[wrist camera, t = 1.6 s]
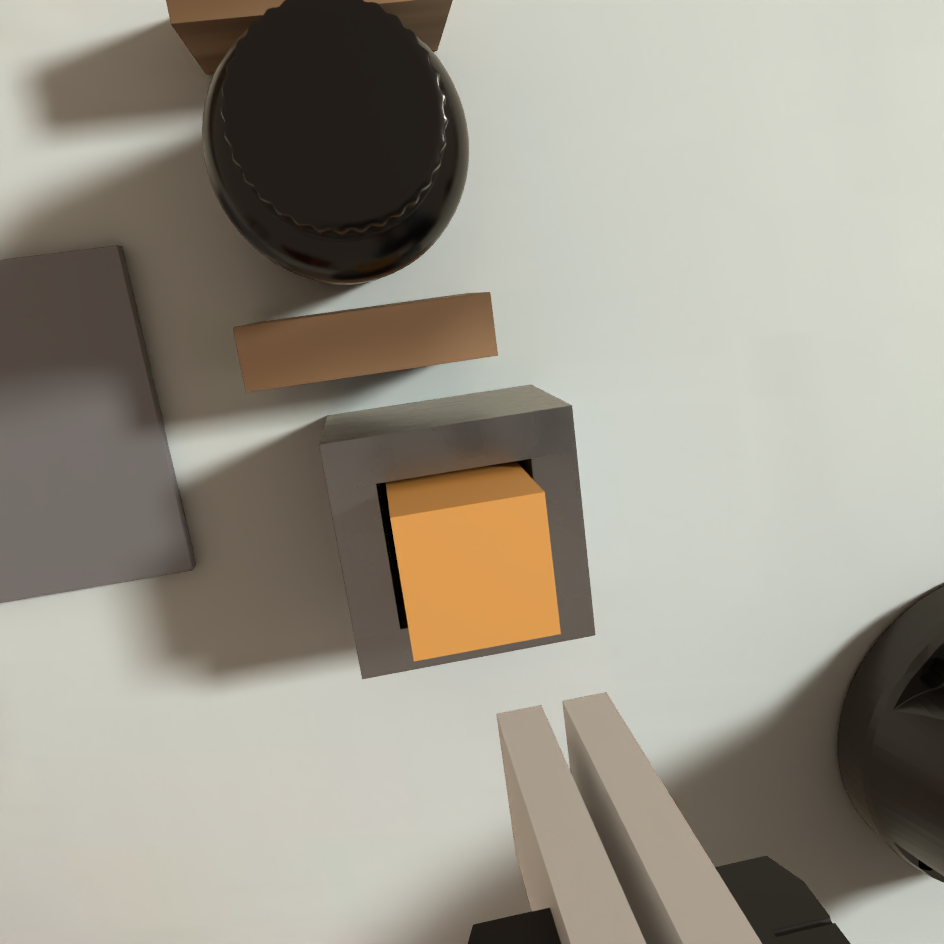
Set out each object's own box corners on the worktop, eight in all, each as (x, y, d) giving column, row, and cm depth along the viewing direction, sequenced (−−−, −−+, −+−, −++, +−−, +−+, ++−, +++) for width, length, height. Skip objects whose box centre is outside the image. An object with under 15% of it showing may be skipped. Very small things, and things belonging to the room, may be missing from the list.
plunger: (520, 565, 28) (561, 633, 23) (403, 586, 28) (413, 661, 22) (506, 451, 27) (544, 492, 22) (384, 470, 27) (390, 517, 21)
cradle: (475, 345, 29) (497, 355, 25) (265, 376, 29) (246, 392, 24) (429, -13, 27) (443, -82, 22) (193, 9, 26) (154, -58, 21)
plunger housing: (552, 574, 32) (595, 635, 26) (362, 608, 31) (362, 679, 25) (531, 384, 30) (571, 405, 24) (327, 415, 29) (318, 444, 23)
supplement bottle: (247, 281, 28) (165, 270, 16) (244, 77, 26) (152, -95, 15) (435, 291, 29) (484, 287, 17) (442, 95, 27) (502, -53, 16)
